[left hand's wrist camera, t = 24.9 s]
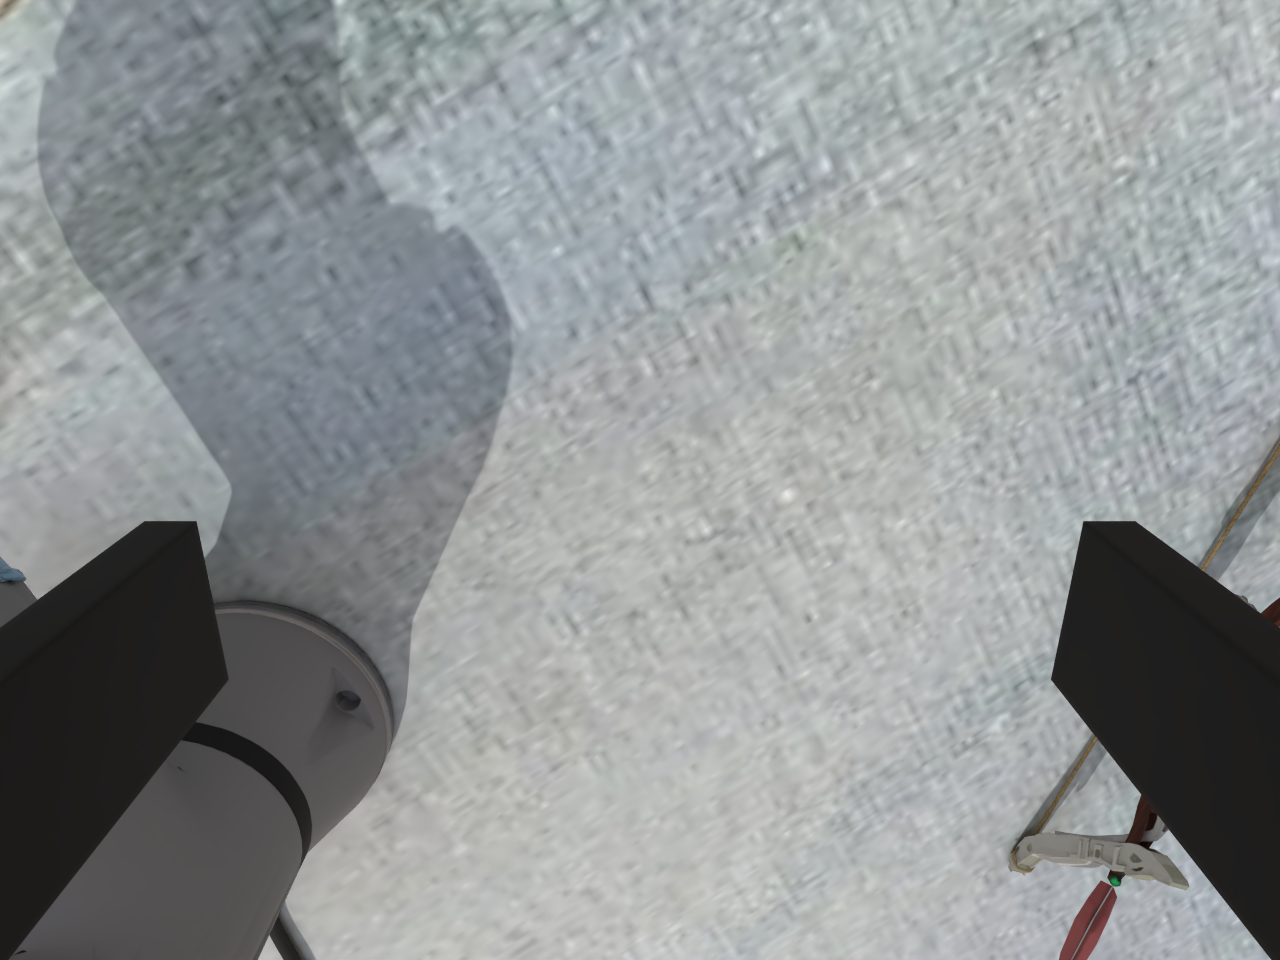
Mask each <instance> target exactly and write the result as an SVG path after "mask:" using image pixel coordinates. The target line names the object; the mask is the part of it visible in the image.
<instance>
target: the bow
mask: <svg viewBox="0 0 1280 960" xmlns="http://www.w3.org/2000/svg"><path fill="white" fill-rule="evenodd" d="M1279 452H1280V444H1279V446H1278V447H1277V449H1276V450H1275V452H1274V454H1273V455H1272V457H1271V458H1270V460H1269V461H1268V463H1267V465H1266V466H1265V468H1264V469H1263V471H1262V473H1261V474H1260V476H1259V477H1258V479H1257V480H1256V482H1255V484H1254V485H1253V487H1252V488H1251V490H1250V492H1249V493H1248V495H1247V496H1246V498H1245V499H1244V501H1243V503H1242V504H1241V506H1240V507H1239V509H1238V511H1237V512H1236V514H1235V515H1234V517H1233V518H1232V520H1231V522H1230V523H1229V525H1228V526H1227V528H1226V530H1225V531H1224V533H1223V534H1222V536H1221V537H1220V539H1219V541H1218V542H1217V544H1216V545H1215V547H1214V549H1213V550H1212V552H1211V553H1210V555H1209V556H1208V558H1207V560H1206V561H1205V563H1204V564H1203V566H1202V568H1201V570H1202V571H1205V569H1206V568H1207V566H1208V564H1209V563H1210V561H1211V560H1212V558H1213V557H1214V555H1215V553H1216V552H1217V550H1218V549H1219V547H1220V546H1221V544H1222V542H1223V541H1224V539H1225V538H1226V536H1227V535H1228V533H1229V531H1230V530H1231V528H1232V527H1233V525H1234V523H1235V522H1236V520H1237V519H1238V517H1239V516H1240V514H1241V512H1242V511H1243V509H1244V508H1245V506H1246V505H1247V503H1248V501H1249V500H1250V498H1251V497H1252V495H1253V493H1254V492H1255V490H1256V489H1257V487H1258V486H1259V484H1260V482H1261V481H1262V479H1263V478H1264V476H1265V475H1266V473H1267V471H1268V470H1269V468H1270V467H1271V465H1272V464H1273V462H1274V460H1275V459H1276V457H1277V456H1278V454H1279ZM1235 595H1236V594H1235ZM1236 596H1238V597H1239V598H1240V599H1242V600H1243V601H1244V602H1246V603H1247V604H1248V605H1250V606H1251V607H1252V608H1254V609H1255V610H1257V609H1256V608H1255V607H1254V605H1252V604H1249V603H1248V599H1247V598H1246V597H1245V596H1243V595H1242V596H1239V595H1236ZM1261 614H1262V615H1263V616H1265V617H1266V618H1267V619H1269V620H1270V621H1271V622H1273V623H1274V624H1276V625H1277V626H1278V627H1280V598H1279V599H1277V600H1276V601H1275V602H1273V603H1272V604H1271V605H1270V606H1269V607H1267V608H1266V609H1265V610H1264V611H1263V612H1262V613H1261ZM1097 740H1098V739H1097V737H1096V736H1095V737H1094V739H1093V740H1092V742H1091V743H1090V745H1089V747H1088V748H1087V750H1086V751H1085V753H1084V755H1083V756H1082V758H1081V759H1080V761H1079V762H1078V764H1077V766H1076V767H1075V769H1074V770H1073V772H1072V774H1071V775H1070V777H1069V778H1068V780H1067V781H1066V783H1065V785H1064V786H1063V788H1062V789H1061V791H1060V793H1059V794H1058V796H1057V797H1056V799H1055V800H1054V802H1053V804H1052V805H1051V807H1050V808H1049V810H1048V812H1047V813H1046V815H1045V816H1044V818H1043V819H1042V821H1041V823H1040V824H1039V826H1038V827H1037V829H1036V831H1035V832H1034V834H1033V835H1032V836H1028V837H1024V839H1023V840H1022V841H1021V842H1020V843H1019V844H1018V845H1017V847H1016V849H1015V850H1014V851H1013V853H1012V857H1011V858H1010V860H1009V861H1010V864H1009V866H1008V867H1009V869H1010V871H1011V872H1012V871H1016V872H1020V873H1023V875H1024V876H1025V874H1026V873H1027V872H1028V873H1029V872H1031V871H1032V870H1033V869H1034V867H1035V866H1036V865H1037V864H1038V863H1040V862H1041V861H1043V860H1044V859H1046V860H1048V861H1051V862H1054V863H1057V864H1060V865H1064V866H1074V867H1090V868H1091V867H1099V866H1100V865H1102V864H1104V865H1105V866H1106V867H1108V868H1109V869H1110V872H1109V875H1108V877H1107V878H1108V879H1109V881H1110V883H1111V884H1112V886H1111V885H1109V884H1107V883H1105V882H1103V881H1100V882H1099V884H1098V885H1097V886H1096V888H1095V889H1094V890H1093V892H1092V893H1091V894H1090V896H1089V897H1088V899H1087V900H1086V902H1085V904H1084V905H1083V907H1082V908H1081V910H1080V911H1079V913H1078V915H1077V916H1076V918H1075V920H1074V922H1073V924H1072V927H1071V929H1070V931H1069V934H1068V936H1067V939H1066V941H1065V943H1064V946H1063V948H1062V950H1061V953H1060V958H1059V960H1087V959H1088V957H1089V955H1090V954H1091V952H1092V951H1093V949H1094V948H1095V946H1096V944H1097V942H1098V940H1099V938H1100V936H1101V934H1102V932H1103V929H1104V927H1105V925H1106V923H1107V921H1108V919H1109V916H1110V914H1111V911H1112V909H1113V906H1114V904H1115V901H1116V899H1117V896H1116V893H1115V891H1114V888H1113V887H1114V886H1115V887H1116V886H1120V884H1121V879H1122V878H1123V877H1124V876H1125V875H1127V876H1130V877H1134V878H1138V879H1141V880H1157V881H1160V882H1162V883H1165V884H1167V885H1169V886H1173V887H1176V888H1180V889H1183V890H1186V889H1187V888H1188V887H1189V884H1188V881H1187V880H1186V879H1185V877H1184V876H1183V875H1182V873H1181V872H1180V871H1179V869H1178V868H1177V867H1176V866H1175V865H1174V863H1173V862H1172V861H1171V860H1170V859H1169V857H1168V856H1166V855H1163V854H1162V853H1160V852H1158V851H1157V850H1155V849H1151V848H1149V847H1150V846H1151V844H1152V843H1153V841H1157V840H1158V839H1160V838H1161V837H1162V836H1163V835H1164V834H1165V833H1166V832H1167V831H1168V830H1169V829H1168V828H1167V826H1166V825H1165V824H1164V823H1163V821H1162V820H1161V819H1160V817H1159V816H1158V815H1157V814H1156V812H1155V811H1154V810H1153V809H1152V807H1151V806H1150V805H1149V803H1148V802H1147V801H1146V800H1145V798H1144V797H1143V796H1142V795H1141V798H1140V800H1139V803H1138V806H1137V810H1136V814H1135V818H1134V822H1133V826H1132V828H1131V830H1130V833H1129V834H1125V835H1108V836H1087V835H1078V834H1070V833H1064V832H1059V831H1055V834H1053V833H1040V834H1038V833H1039V831H1040V830H1041V828H1042V826H1043V825H1044V823H1045V822H1046V820H1047V818H1048V817H1049V815H1050V814H1051V812H1052V811H1053V809H1054V807H1055V806H1056V804H1057V803H1058V801H1059V800H1060V798H1061V796H1062V795H1063V793H1064V792H1065V790H1066V789H1067V787H1068V785H1069V784H1070V782H1071V781H1072V779H1073V777H1074V776H1075V774H1076V773H1077V771H1078V770H1079V768H1080V766H1081V765H1082V763H1083V762H1084V760H1085V759H1086V757H1087V755H1088V754H1089V752H1090V751H1091V749H1092V747H1093V746H1094V744H1095V743H1096V741H1097Z"/></svg>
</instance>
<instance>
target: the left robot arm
mask: <svg viewBox="0 0 1280 960" xmlns="http://www.w3.org/2000/svg"><path fill="white" fill-rule="evenodd" d="M25 580H26V578H25V576H24V575H23V573H22V572H20V571H19V570H18V569H14V568H10V567H9V565H8V564H7V563H6V562H5V561H4V560H3V559H2V558H1V557H0V960H258V958H259V956H260V954H261V952H262V949H263V947H264V945H265V943H266V941H267V939H268V936H269V935H270V937H271V939H272V940H273V942H274V944H275V946H276V948H277V949H278V951H279V953H280V954H281V956H282V958H283V959H284V960H301V958H300V956H299V955H298V953H297V951H296V949H295V948H294V946H293V944H292V942H291V941H290V939H289V937H288V936H287V934H286V932H285V930H284V928H283V926H282V924H281V922H280V920H279V918H278V915H279V913H280V910H281V908H282V906H283V904H284V902H285V899H286V897H287V895H288V893H289V891H290V889H291V886H292V884H293V882H294V880H295V878H296V876H297V873H298V871H299V869H300V867H301V865H302V863H303V861H304V859H305V856H306V854H307V853H308V852H309V851H310V850H311V849H312V848H313V847H314V846H315V845H316V844H317V843H318V842H319V841H320V840H321V839H322V838H323V837H324V836H325V835H326V834H327V833H329V832H330V831H331V830H332V829H333V828H334V827H335V826H336V825H337V824H338V823H339V822H340V821H341V820H342V819H343V818H344V817H345V816H346V815H347V814H348V813H349V812H350V811H352V810H353V809H354V808H355V807H356V806H357V805H358V803H359V802H360V801H361V800H362V799H363V798H364V796H365V795H366V794H367V792H368V791H369V789H370V788H371V786H372V785H373V783H374V782H375V780H376V778H377V777H378V775H379V773H380V771H381V768H382V766H383V764H384V761H385V759H386V757H387V754H388V752H389V749H390V745H391V742H392V735H393V712H392V707H391V702H390V698H389V695H388V692H387V689H386V687H385V685H384V683H383V680H382V679H381V677H380V675H379V673H378V672H377V670H376V668H375V667H374V666H373V664H372V663H371V661H370V660H369V659H368V658H367V657H366V655H365V654H364V653H363V652H362V651H361V650H360V649H359V648H358V647H357V646H356V645H355V644H354V643H353V642H352V641H351V640H349V639H348V638H347V637H346V636H345V635H343V634H342V633H341V632H339V631H338V630H336V629H335V628H333V627H332V626H330V625H328V624H327V623H325V622H323V621H321V620H319V619H317V618H315V617H313V616H311V615H309V614H306V613H304V612H301V611H298V610H295V609H292V608H289V607H285V606H281V605H276V604H271V603H264V602H255V601H237V602H226V603H219V604H213V599H212V595H211V590H210V585H209V580H208V575H207V570H206V565H205V561H204V556H203V551H202V546H201V541H200V536H199V531H198V527H197V522H196V521H144V522H143V523H142V524H140V525H139V526H138V527H136V528H135V529H134V530H132V531H131V532H129V533H128V534H127V535H125V536H124V537H123V538H121V539H120V540H119V541H117V542H116V543H115V544H113V545H112V546H110V547H109V548H108V549H106V550H105V551H104V552H102V553H101V554H100V555H98V556H97V557H95V558H94V559H93V560H91V561H90V562H89V563H87V564H86V565H85V566H83V567H82V568H81V569H79V570H78V571H76V572H75V573H74V574H72V575H71V576H70V577H68V578H67V579H66V580H64V581H63V582H62V583H60V584H59V585H57V586H56V587H55V588H53V589H52V590H51V591H49V592H48V593H47V594H45V595H44V596H42V597H41V598H40V599H38V600H37V599H36V597H35V596H34V595H33V594H32V592H31V591H30V590H29V588H28V587H27V586H26V585H25V583H24V582H23V581H25ZM1051 680H1052V681H1053V683H1054V684H1055V685H1056V686H1057V688H1058V689H1059V690H1060V692H1061V693H1062V694H1063V695H1064V697H1065V698H1066V699H1067V700H1068V702H1069V703H1070V704H1071V706H1072V707H1073V708H1074V709H1075V711H1076V712H1077V713H1078V714H1079V716H1080V717H1081V718H1082V720H1083V721H1084V722H1085V723H1086V725H1087V726H1088V727H1089V728H1090V730H1091V731H1092V732H1093V734H1094V735H1095V736H1096V737H1097V739H1098V740H1099V741H1100V742H1101V744H1102V745H1103V746H1104V748H1105V749H1106V750H1107V751H1108V753H1109V754H1110V755H1111V756H1112V758H1113V759H1114V760H1115V762H1116V763H1117V764H1118V765H1119V767H1120V768H1121V769H1122V770H1123V772H1124V773H1125V774H1126V775H1127V777H1128V778H1129V779H1130V781H1131V782H1132V783H1133V784H1134V786H1135V787H1136V788H1137V789H1138V791H1139V792H1140V793H1141V795H1142V796H1143V797H1144V798H1145V800H1146V801H1147V802H1148V803H1149V805H1150V806H1151V807H1152V809H1153V810H1154V811H1155V812H1156V814H1157V815H1158V816H1159V817H1160V819H1161V820H1162V821H1163V823H1164V824H1165V825H1166V826H1167V828H1168V829H1169V830H1170V831H1171V833H1172V834H1173V835H1174V837H1175V838H1176V839H1177V840H1178V842H1179V843H1180V844H1181V845H1182V847H1183V848H1184V849H1185V851H1186V852H1187V853H1188V854H1189V856H1190V857H1191V858H1192V859H1193V861H1194V862H1195V863H1196V864H1197V866H1198V867H1199V868H1200V870H1201V871H1202V872H1203V873H1204V875H1205V876H1206V877H1207V878H1208V880H1209V881H1210V882H1211V884H1212V885H1213V886H1214V887H1215V889H1216V890H1217V891H1218V892H1219V894H1220V895H1221V896H1222V898H1223V899H1224V900H1225V901H1226V903H1227V904H1228V905H1229V906H1230V908H1231V909H1232V910H1233V912H1234V913H1235V914H1236V915H1237V917H1238V918H1239V919H1240V920H1241V922H1242V923H1243V924H1244V926H1245V927H1246V928H1247V929H1248V931H1249V932H1250V933H1251V934H1252V936H1253V937H1254V938H1255V940H1256V941H1257V942H1258V943H1259V945H1260V946H1261V947H1262V948H1263V950H1264V951H1265V952H1266V954H1267V955H1268V956H1269V957H1270V959H1271V960H1280V627H1278V626H1277V625H1276V624H1274V623H1273V622H1271V621H1270V620H1269V619H1267V618H1266V617H1265V616H1263V615H1262V614H1261V613H1259V612H1258V611H1257V610H1255V609H1254V608H1252V607H1251V606H1250V605H1248V604H1247V603H1246V602H1244V601H1243V600H1242V599H1240V598H1239V597H1238V596H1236V595H1235V594H1233V593H1232V592H1231V591H1229V590H1228V589H1227V588H1225V587H1224V586H1223V585H1221V584H1220V583H1218V582H1217V581H1216V580H1214V579H1213V578H1212V577H1210V576H1209V575H1208V574H1206V573H1205V572H1204V571H1202V570H1201V569H1199V568H1198V567H1197V566H1195V565H1194V564H1193V563H1191V562H1190V561H1189V560H1187V559H1186V558H1185V557H1183V556H1182V555H1180V554H1179V553H1178V552H1176V551H1175V550H1174V549H1172V548H1171V547H1170V546H1168V545H1167V544H1165V543H1164V542H1163V541H1161V540H1160V539H1159V538H1157V537H1156V536H1155V535H1153V534H1152V533H1151V532H1149V531H1148V530H1146V529H1145V528H1144V527H1142V526H1141V525H1140V524H1138V523H1137V522H1136V521H1084V522H1083V527H1082V531H1081V536H1080V541H1079V546H1078V551H1077V556H1076V561H1075V565H1074V570H1073V575H1072V580H1071V585H1070V590H1069V595H1068V599H1067V604H1066V609H1065V614H1064V619H1063V624H1062V629H1061V633H1060V638H1059V643H1058V648H1057V653H1056V658H1055V663H1054V668H1053V672H1052V677H1051Z"/></svg>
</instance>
